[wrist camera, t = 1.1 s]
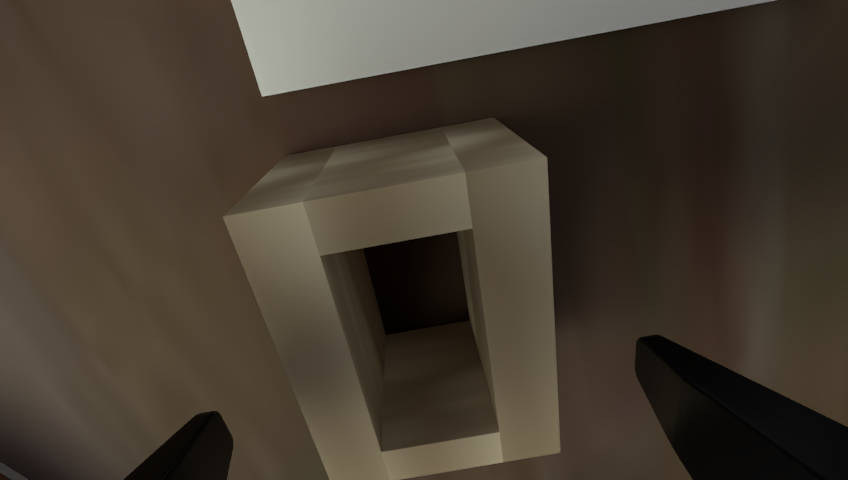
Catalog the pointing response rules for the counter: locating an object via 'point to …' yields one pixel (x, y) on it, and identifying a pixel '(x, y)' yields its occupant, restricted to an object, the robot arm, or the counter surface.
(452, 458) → the beige open box
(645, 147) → the counter surface
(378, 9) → the post stand
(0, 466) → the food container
